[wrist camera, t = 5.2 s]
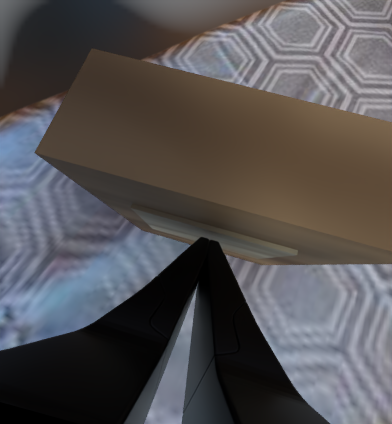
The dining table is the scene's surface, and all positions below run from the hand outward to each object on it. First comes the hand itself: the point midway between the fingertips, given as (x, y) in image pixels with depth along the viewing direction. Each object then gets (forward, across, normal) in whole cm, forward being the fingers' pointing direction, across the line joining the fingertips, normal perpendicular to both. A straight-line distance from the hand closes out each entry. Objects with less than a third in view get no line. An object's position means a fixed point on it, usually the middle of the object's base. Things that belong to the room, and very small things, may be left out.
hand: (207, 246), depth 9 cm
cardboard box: (+8, 0, +4) cm, 9 cm away
